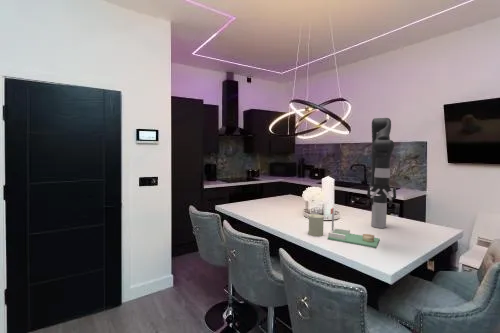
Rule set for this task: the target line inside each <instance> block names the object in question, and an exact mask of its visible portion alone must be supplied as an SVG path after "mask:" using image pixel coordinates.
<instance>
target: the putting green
mask: <svg viewBox="0 0 500 333" xmlns="http://www.w3.org/2000/svg"><path fill="white" fill-rule="evenodd" d="M337 234H342V233H337ZM343 235H346V236H345V240H342V239H337V238H331V237H328V236H327V240H329V241H335V242H339V243H345V244H351V245H358V246H363V247H368V248H372V249H376V248H377V247H378V244H379V242H380V237H375V236H374V242H365V241H363V234H355V233H350V234H349V235H348V234H343Z"/></svg>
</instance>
